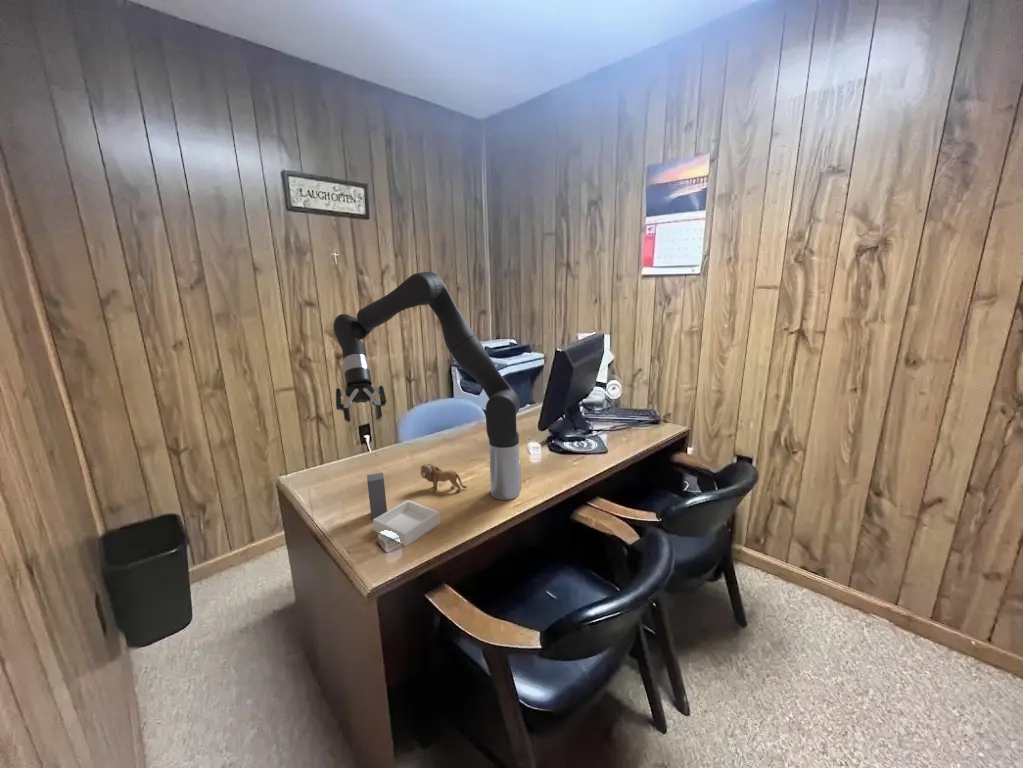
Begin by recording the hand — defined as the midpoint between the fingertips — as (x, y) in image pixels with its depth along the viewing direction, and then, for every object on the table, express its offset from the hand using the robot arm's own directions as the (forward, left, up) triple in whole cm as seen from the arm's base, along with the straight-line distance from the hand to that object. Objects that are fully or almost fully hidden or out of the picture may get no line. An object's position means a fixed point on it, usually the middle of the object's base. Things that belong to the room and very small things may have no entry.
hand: (364, 420), depth 125 cm
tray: (+5, +21, -26) cm, 34 cm away
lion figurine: (-17, +14, -27) cm, 34 cm away
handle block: (+5, +9, -26) cm, 28 cm away
